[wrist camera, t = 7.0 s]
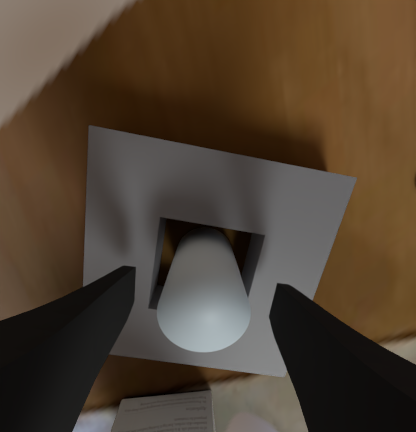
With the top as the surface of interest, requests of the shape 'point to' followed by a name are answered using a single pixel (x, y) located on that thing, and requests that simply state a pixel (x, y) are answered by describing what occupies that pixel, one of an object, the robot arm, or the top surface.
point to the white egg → (204, 294)
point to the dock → (208, 215)
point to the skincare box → (166, 413)
